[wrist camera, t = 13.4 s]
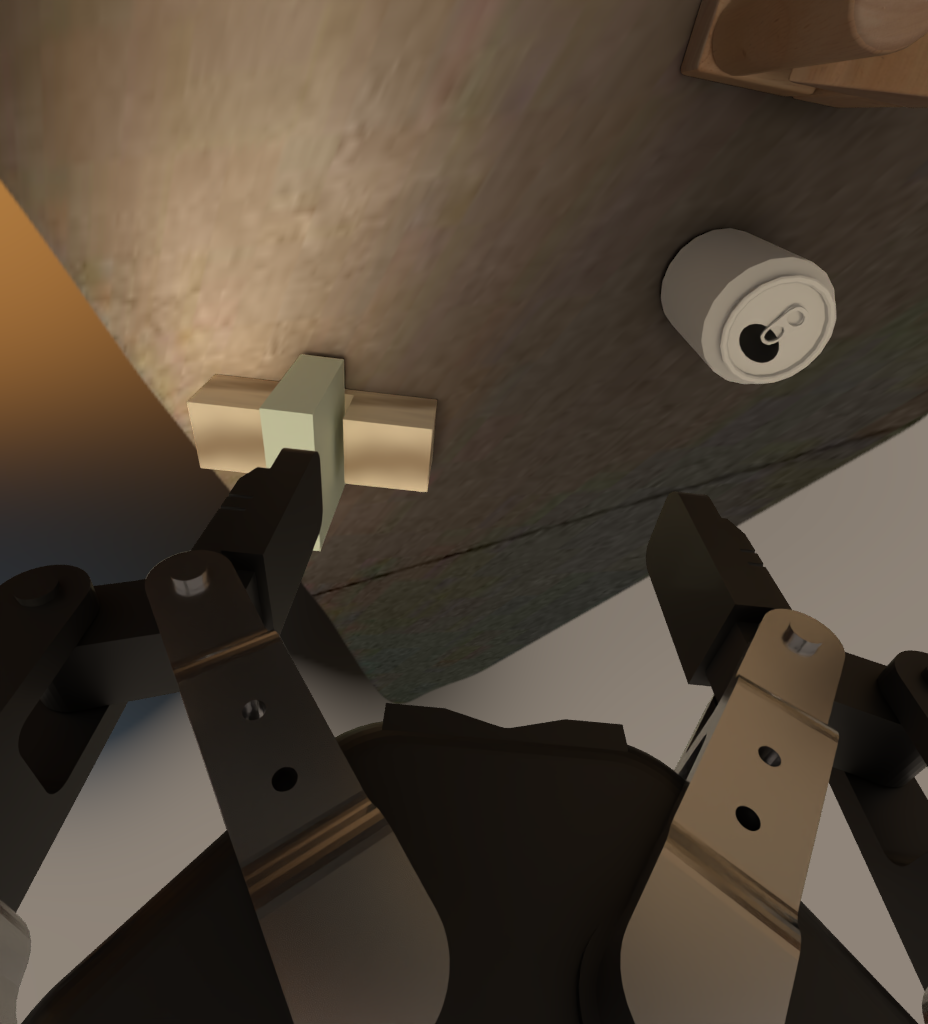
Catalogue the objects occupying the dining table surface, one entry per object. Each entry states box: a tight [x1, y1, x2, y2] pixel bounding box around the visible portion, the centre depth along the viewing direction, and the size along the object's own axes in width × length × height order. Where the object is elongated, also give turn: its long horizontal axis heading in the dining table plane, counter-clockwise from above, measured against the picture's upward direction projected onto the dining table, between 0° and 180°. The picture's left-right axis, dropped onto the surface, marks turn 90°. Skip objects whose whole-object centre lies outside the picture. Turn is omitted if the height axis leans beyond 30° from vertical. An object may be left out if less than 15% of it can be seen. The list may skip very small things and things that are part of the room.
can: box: [661, 228, 836, 384], centre depth 36 cm, size 8×8×12 cm
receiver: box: [187, 374, 437, 492], centre depth 46 cm, size 6×19×6 cm, turn 84°
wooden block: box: [681, 0, 928, 108], centre depth 25 cm, size 4×11×18 cm, turn 81°
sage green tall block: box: [259, 354, 346, 551], centre depth 43 cm, size 12×4×10 cm, turn 173°
